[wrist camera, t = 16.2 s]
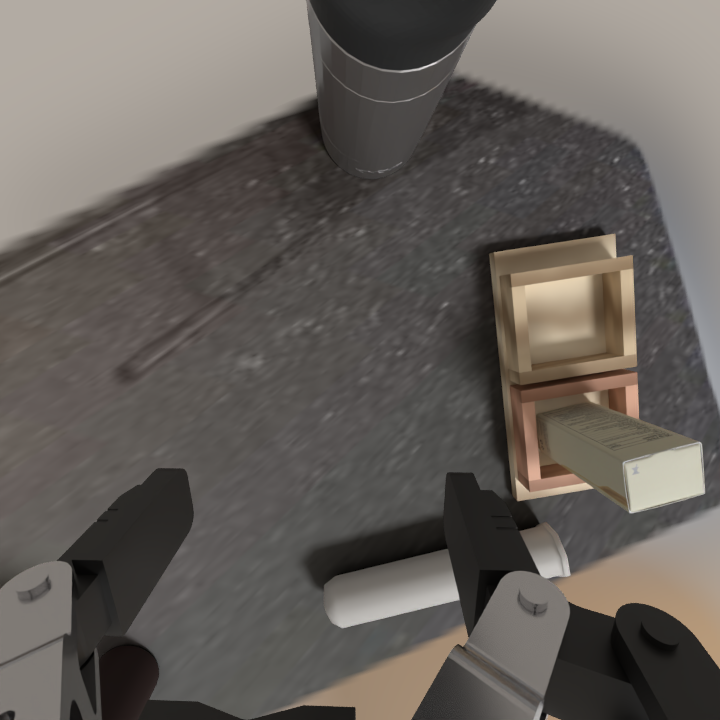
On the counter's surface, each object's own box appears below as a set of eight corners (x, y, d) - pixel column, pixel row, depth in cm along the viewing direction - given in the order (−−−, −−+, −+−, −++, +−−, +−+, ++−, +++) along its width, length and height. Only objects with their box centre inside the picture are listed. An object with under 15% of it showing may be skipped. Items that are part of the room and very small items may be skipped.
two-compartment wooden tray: (489, 253, 38) (505, 248, 34) (606, 236, 38) (634, 228, 35) (512, 495, 42) (528, 514, 38) (618, 477, 42) (644, 494, 39)
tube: (332, 619, 42) (551, 566, 42) (325, 646, 37) (576, 585, 37) (321, 568, 43) (536, 516, 43) (314, 587, 38) (558, 528, 38)
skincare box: (539, 452, 40) (625, 517, 28) (533, 413, 39) (618, 462, 27) (598, 438, 40) (709, 496, 28) (593, 399, 40) (704, 441, 28)
